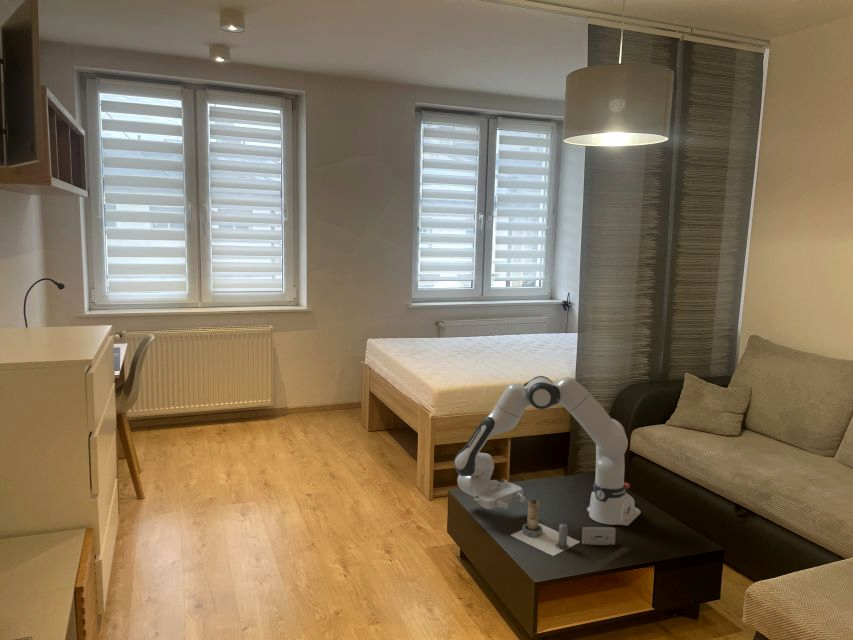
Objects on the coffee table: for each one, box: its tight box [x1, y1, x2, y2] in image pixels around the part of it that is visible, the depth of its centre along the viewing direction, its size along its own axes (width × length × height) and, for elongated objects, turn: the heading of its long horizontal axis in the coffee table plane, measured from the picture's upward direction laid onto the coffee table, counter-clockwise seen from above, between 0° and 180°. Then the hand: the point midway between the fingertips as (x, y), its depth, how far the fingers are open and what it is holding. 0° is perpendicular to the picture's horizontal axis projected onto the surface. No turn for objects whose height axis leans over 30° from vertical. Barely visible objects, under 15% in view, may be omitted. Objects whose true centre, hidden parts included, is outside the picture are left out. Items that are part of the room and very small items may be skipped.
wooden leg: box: [526, 498, 540, 531], centre depth 243 cm, size 4×4×13 cm
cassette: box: [581, 526, 617, 546], centre depth 236 cm, size 12×2×8 cm, turn 90°
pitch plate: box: [510, 522, 581, 557], centre depth 239 cm, size 16×20×10 cm
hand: (516, 503), depth 249 cm, fingers open, 8 cm apart
